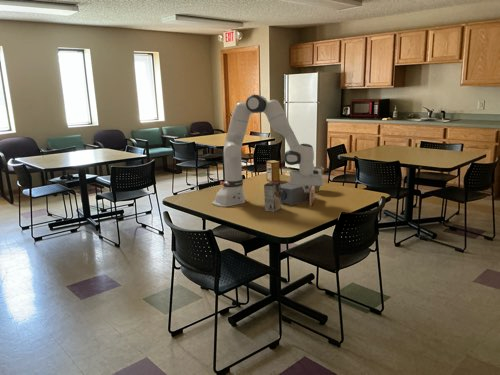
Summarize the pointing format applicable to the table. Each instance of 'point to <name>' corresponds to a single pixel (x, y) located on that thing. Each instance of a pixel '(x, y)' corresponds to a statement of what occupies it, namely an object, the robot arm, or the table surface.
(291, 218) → the table surface
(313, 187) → the side door
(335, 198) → the table surface
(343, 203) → the table surface
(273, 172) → the baking soda box
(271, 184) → the coffee box
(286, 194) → the camera housing
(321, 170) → the plant pot
